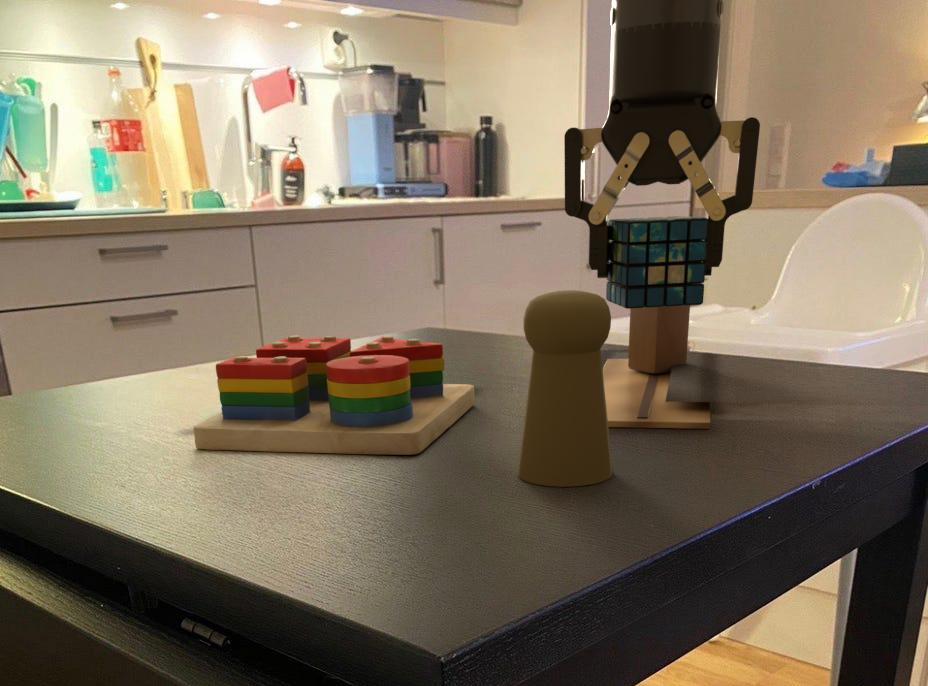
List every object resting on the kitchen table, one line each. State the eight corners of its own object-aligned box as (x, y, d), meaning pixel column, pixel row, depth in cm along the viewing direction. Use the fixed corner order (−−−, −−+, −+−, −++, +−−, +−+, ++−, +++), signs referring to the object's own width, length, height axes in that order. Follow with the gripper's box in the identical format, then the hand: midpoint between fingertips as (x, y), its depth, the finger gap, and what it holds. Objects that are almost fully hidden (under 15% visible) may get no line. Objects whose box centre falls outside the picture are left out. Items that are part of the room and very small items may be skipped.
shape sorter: (287, 401, 87) (280, 330, 84) (476, 404, 82) (474, 330, 80) (192, 449, 72) (180, 365, 69) (418, 456, 67) (413, 366, 65)
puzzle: (605, 300, 78) (607, 219, 75) (678, 296, 78) (683, 215, 76) (625, 309, 72) (628, 221, 70) (703, 304, 73) (709, 217, 70)
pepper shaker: (498, 476, 62) (495, 294, 57) (555, 456, 66) (557, 285, 61) (575, 492, 58) (579, 299, 54) (631, 470, 62) (639, 288, 57)
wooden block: (687, 370, 90) (693, 278, 87) (654, 375, 88) (659, 282, 85) (658, 364, 93) (663, 276, 90) (625, 369, 91) (629, 279, 88)
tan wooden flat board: (709, 363, 96) (710, 357, 96) (710, 429, 71) (710, 421, 71) (607, 363, 98) (607, 357, 98) (574, 426, 74) (574, 418, 73)
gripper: (770, 24, 69) (749, 270, 76) (569, 39, 73) (566, 273, 79) (777, 8, 63) (753, 279, 70) (555, 26, 66) (553, 282, 73)
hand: (653, 275), depth 74 cm, fingers closed on puzzle, 7 cm apart
